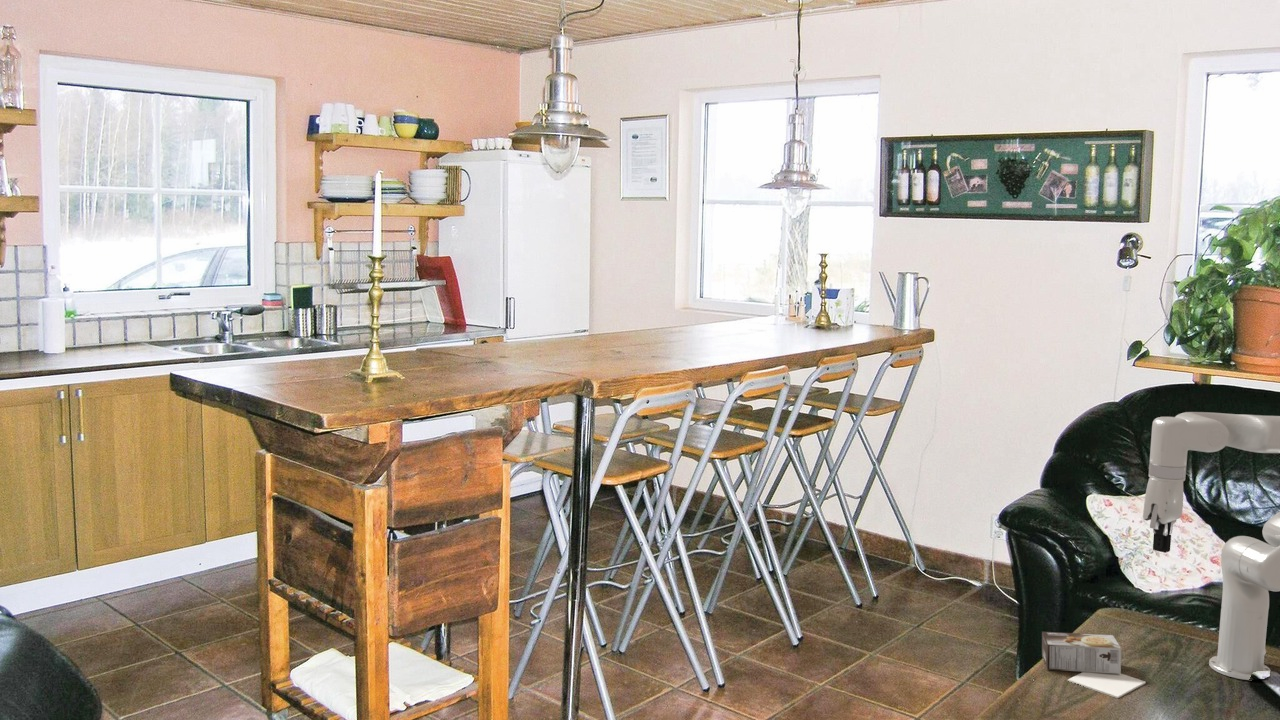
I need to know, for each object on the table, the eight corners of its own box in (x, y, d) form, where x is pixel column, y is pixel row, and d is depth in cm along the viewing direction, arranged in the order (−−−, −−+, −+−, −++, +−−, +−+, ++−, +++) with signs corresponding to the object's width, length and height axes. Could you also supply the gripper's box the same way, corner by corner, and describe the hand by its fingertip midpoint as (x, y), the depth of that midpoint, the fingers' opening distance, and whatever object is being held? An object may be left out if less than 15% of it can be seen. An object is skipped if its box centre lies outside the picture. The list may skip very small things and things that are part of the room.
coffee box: (1113, 661, 258) (1041, 656, 261) (1113, 634, 257) (1041, 630, 261) (1121, 674, 249) (1046, 670, 252) (1121, 647, 248) (1047, 643, 252)
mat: (1096, 667, 255) (1096, 665, 255) (1145, 683, 246) (1145, 681, 246) (1067, 681, 247) (1067, 679, 247) (1117, 698, 238) (1117, 696, 238)
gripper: (1165, 464, 254) (1159, 541, 256) (1135, 473, 244) (1129, 552, 247) (1198, 470, 248) (1192, 549, 250) (1169, 479, 239) (1162, 560, 241)
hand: (1161, 550), depth 249 cm, fingers closed
